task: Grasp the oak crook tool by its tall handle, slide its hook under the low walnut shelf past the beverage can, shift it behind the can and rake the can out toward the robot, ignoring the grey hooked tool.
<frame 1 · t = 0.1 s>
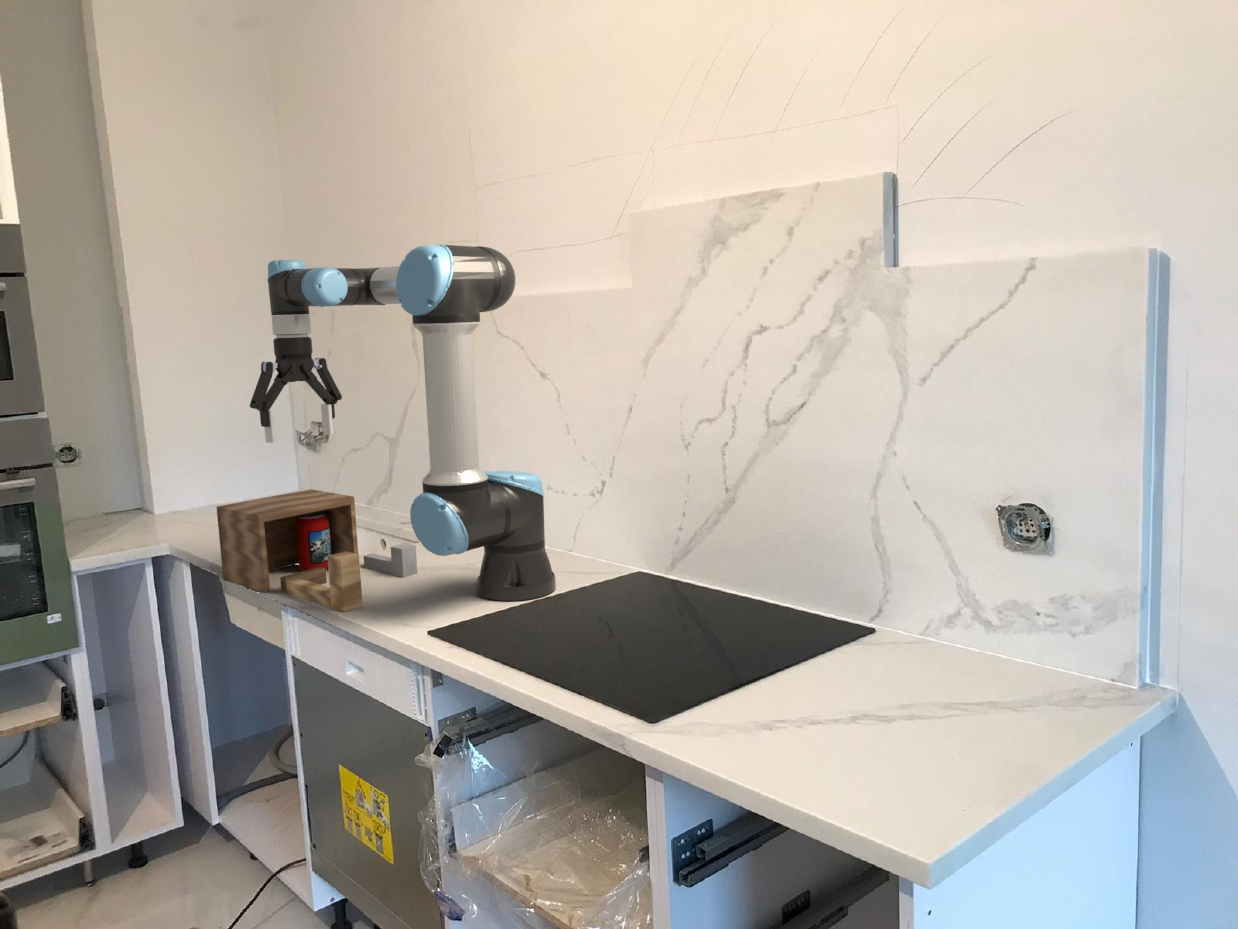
hand: (300, 438, 209), 28 cm above the worktop, fingers open, 13 cm apart
shelf: (292, 574, 209), on the worktop
grey hooked tool: (389, 570, 210), on the worktop
crook tool: (347, 607, 184), on the worktop
beverage can: (316, 570, 212), on the worktop
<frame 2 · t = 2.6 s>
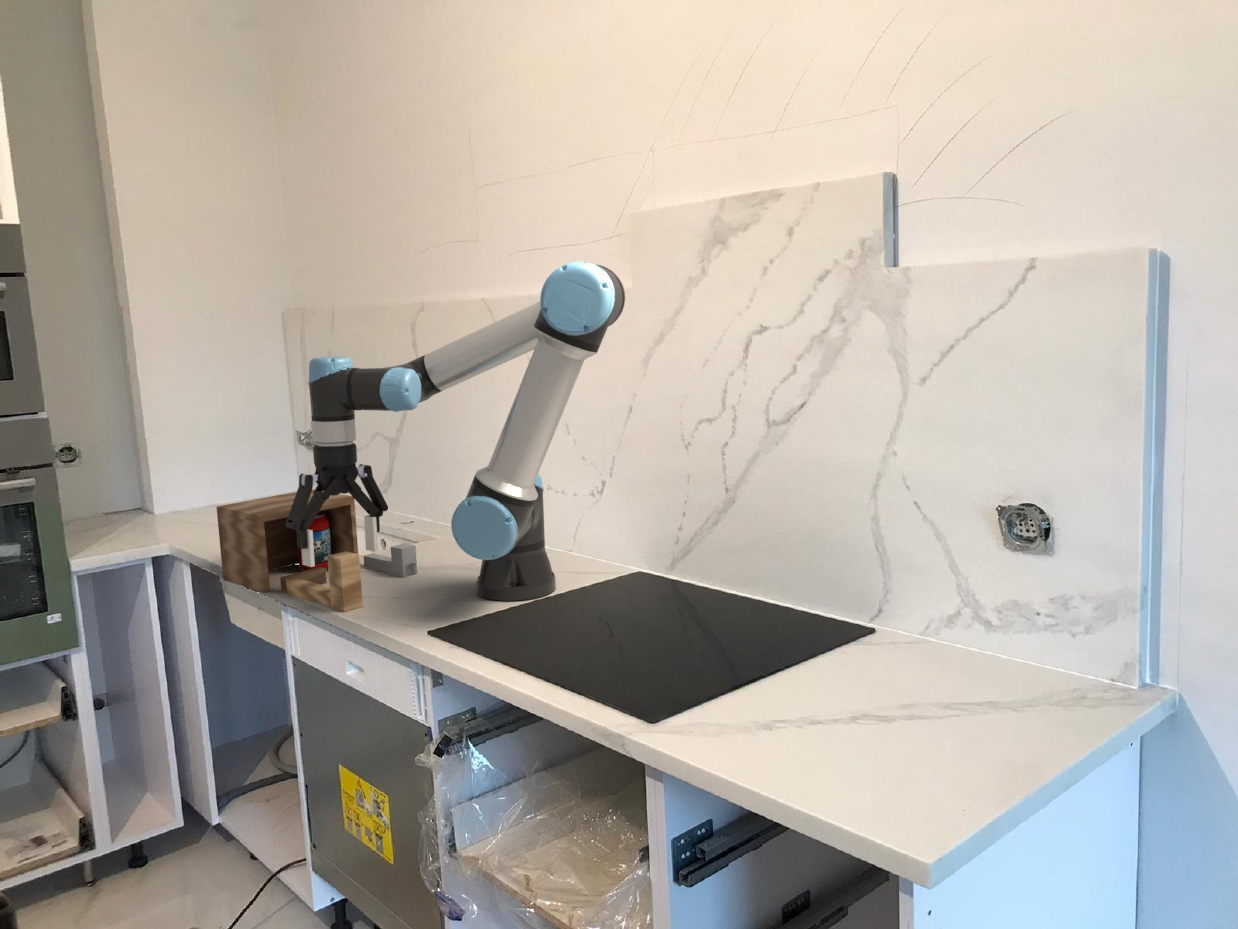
hand: (341, 558, 183), 9 cm above the worktop, fingers open, 13 cm apart
nothing on the worktop moved.
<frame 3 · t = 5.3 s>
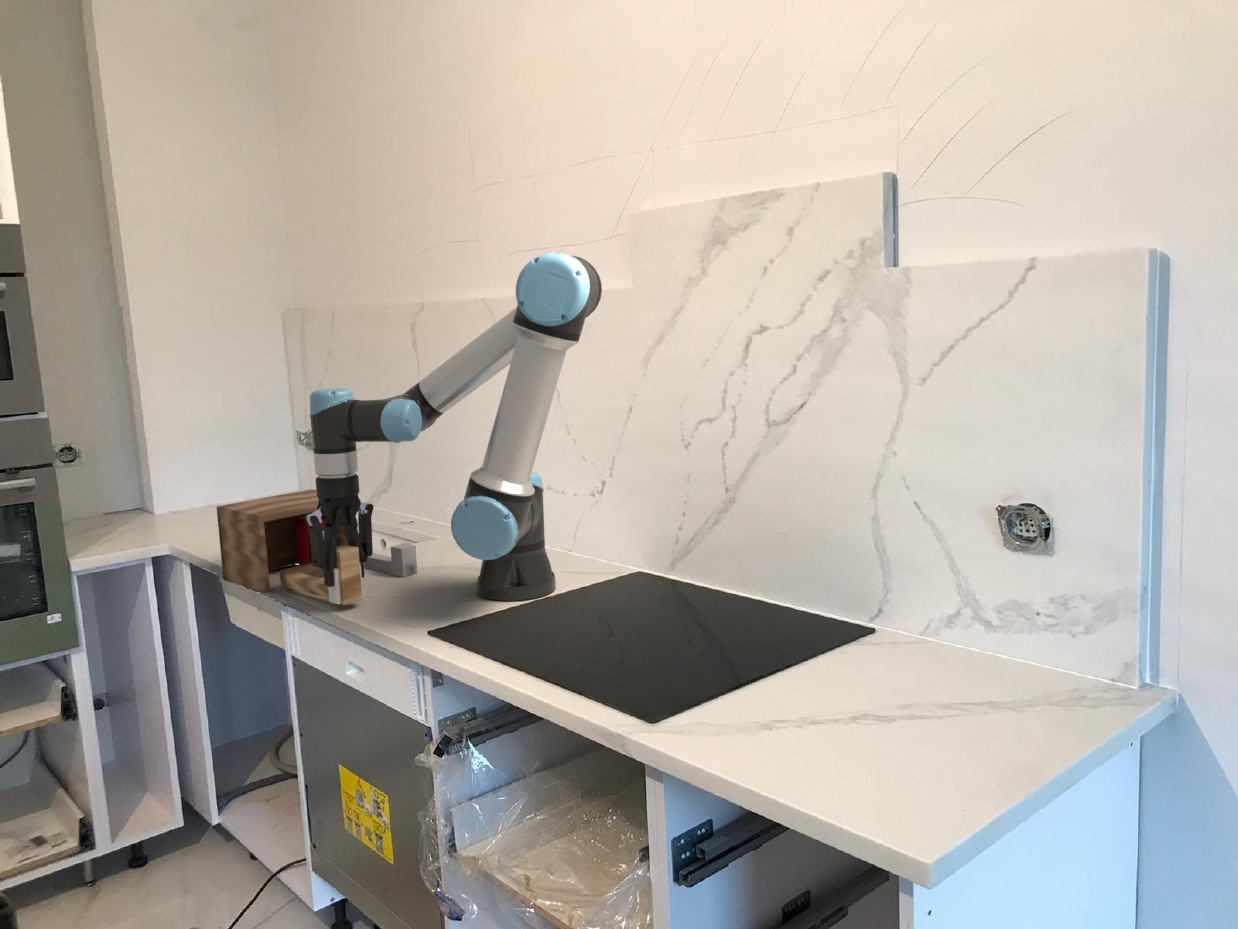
hand: (346, 599, 184), 2 cm above the worktop, fingers closed on crook tool, 4 cm apart
crook tool: (346, 601, 184), point 1 cm above the worktop, touching gripper
everything else where it was.
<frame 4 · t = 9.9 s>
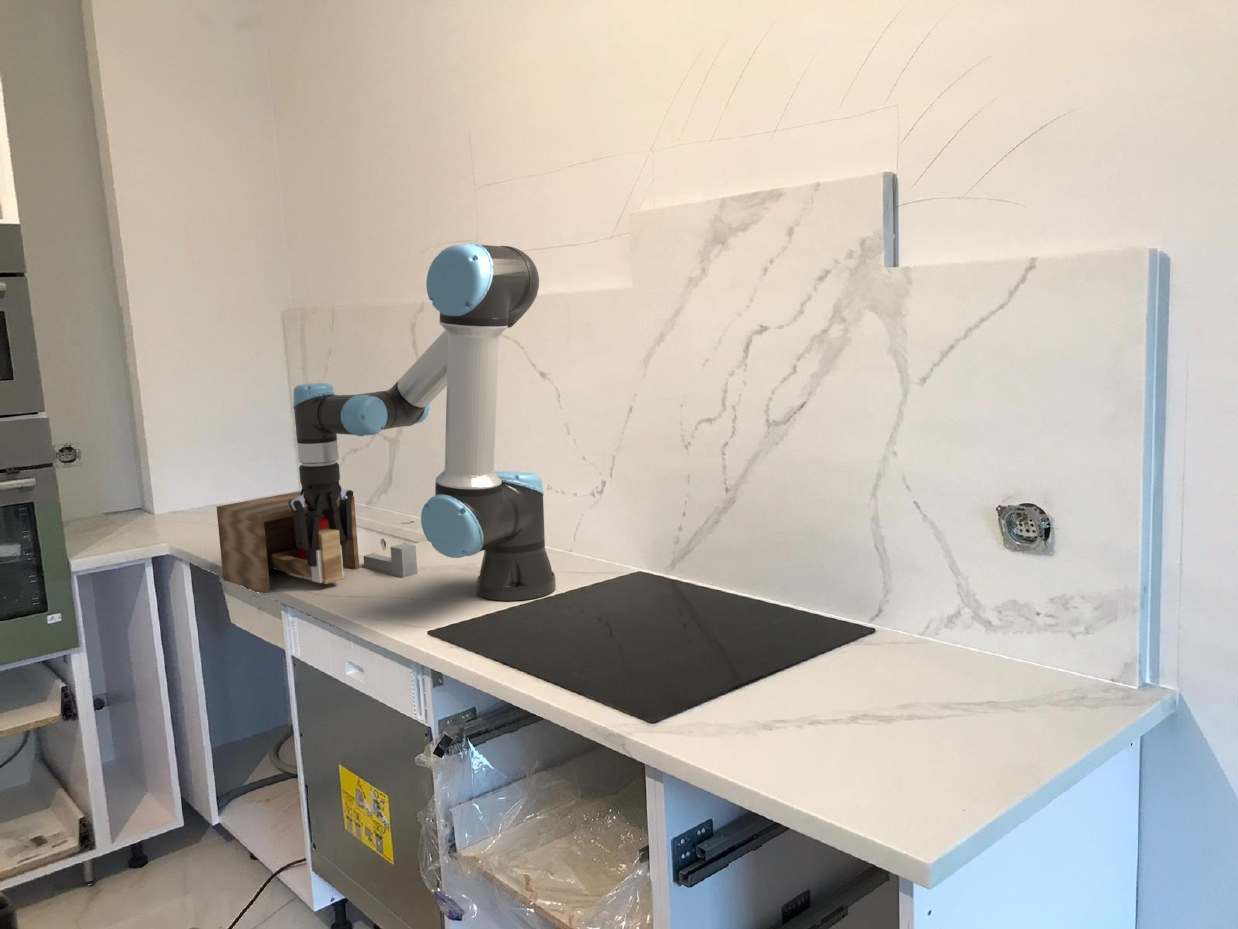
hand: (328, 578, 199), 2 cm above the worktop, fingers closed on crook tool, 4 cm apart
crook tool: (328, 580, 199), point 1 cm above the worktop, touching gripper
everything else where it was.
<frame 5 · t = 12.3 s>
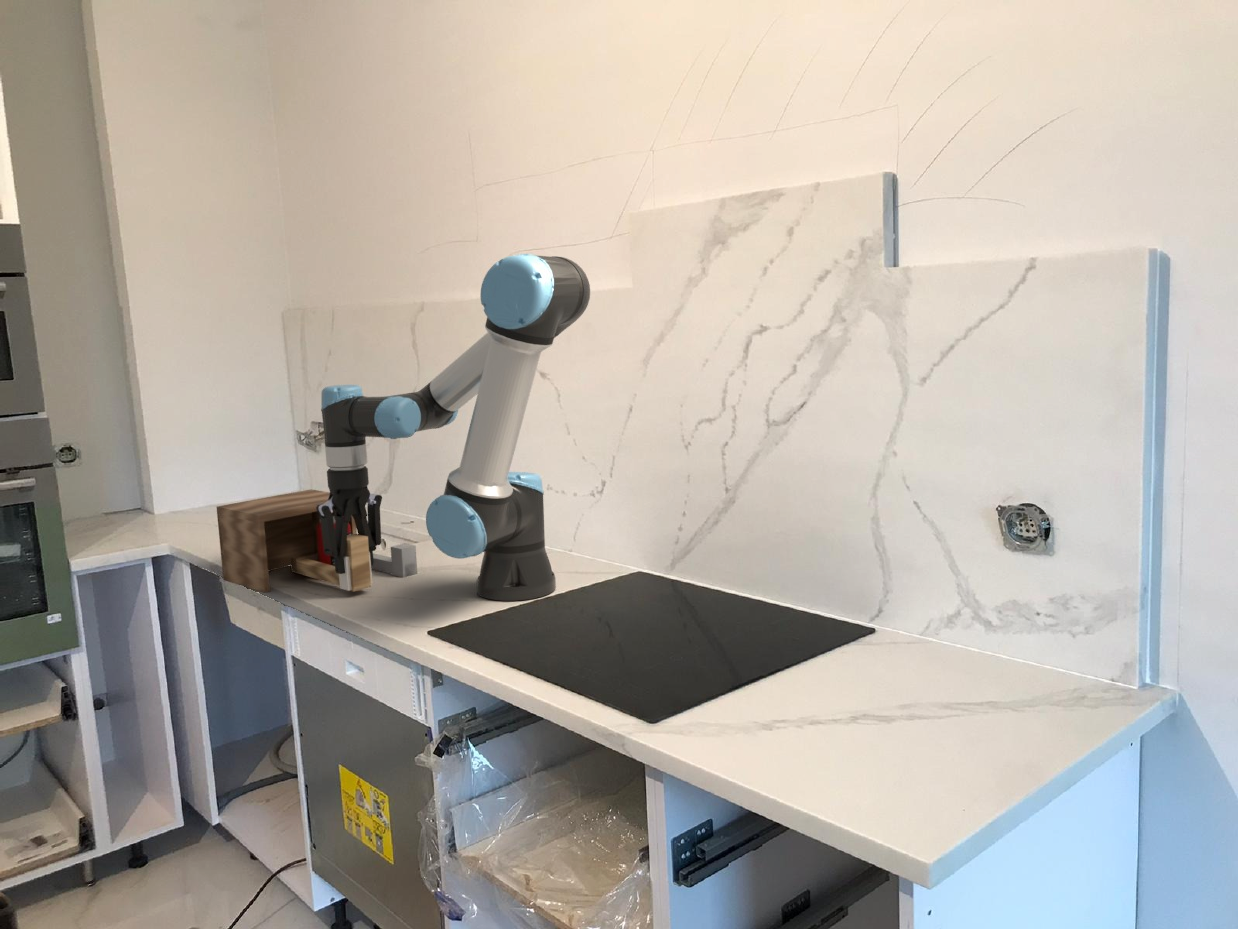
hand: (356, 585, 193), 2 cm above the worktop, fingers closed on crook tool, 4 cm apart
crook tool: (356, 587, 193), point 1 cm above the worktop, touching beverage can, gripper
beverage can: (337, 576, 207), on the worktop, touching crook tool
everything else where it was.
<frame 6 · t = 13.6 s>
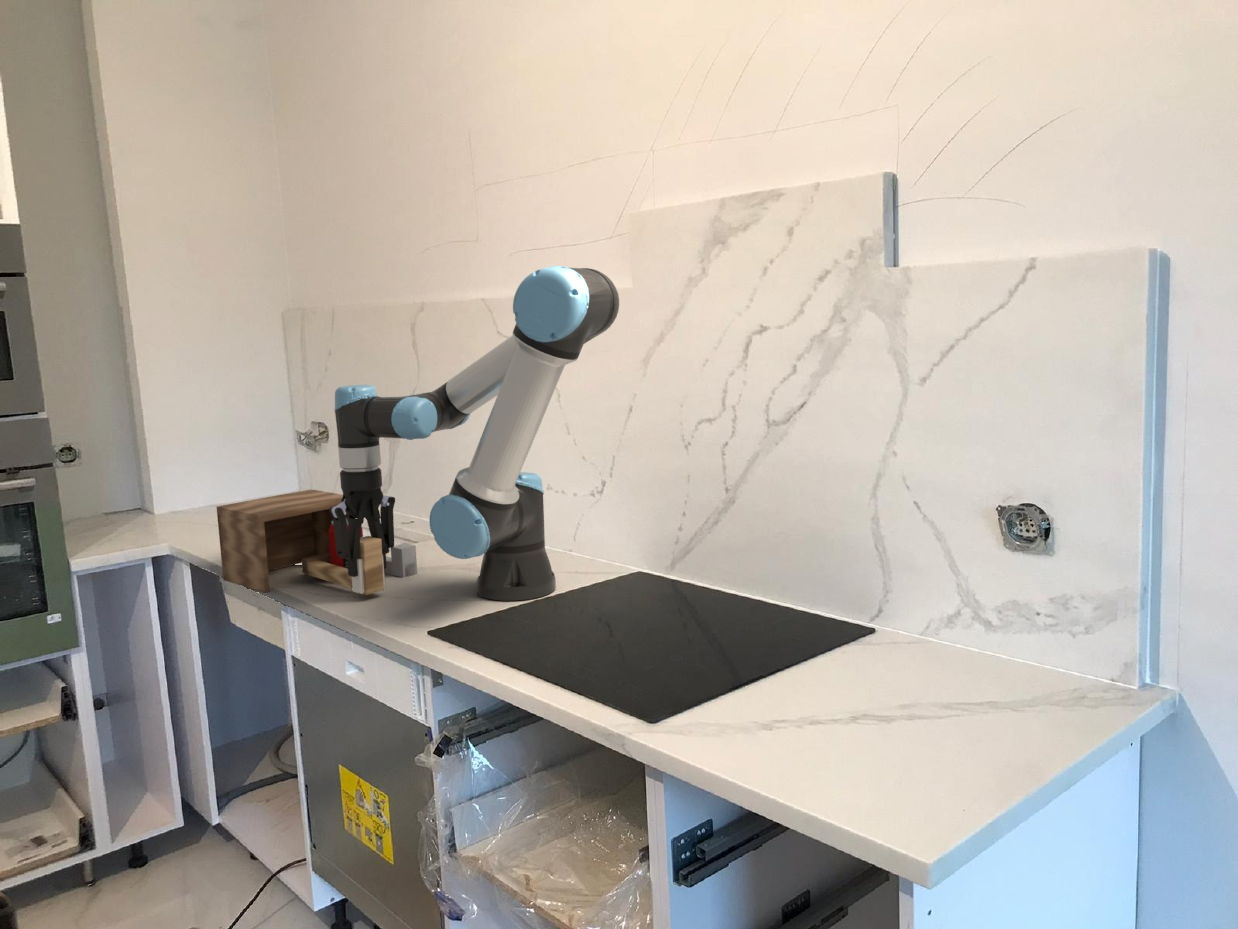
hand: (368, 588, 190), 2 cm above the worktop, fingers closed on crook tool, 4 cm apart
crook tool: (368, 590, 190), point 1 cm above the worktop, touching beverage can, gripper
beverage can: (349, 579, 204), on the worktop, touching crook tool
everything else where it was.
when the fingers open (2 cm above the worktop, at t = 14.5 s): crook tool drops 1 cm, on the worktop.
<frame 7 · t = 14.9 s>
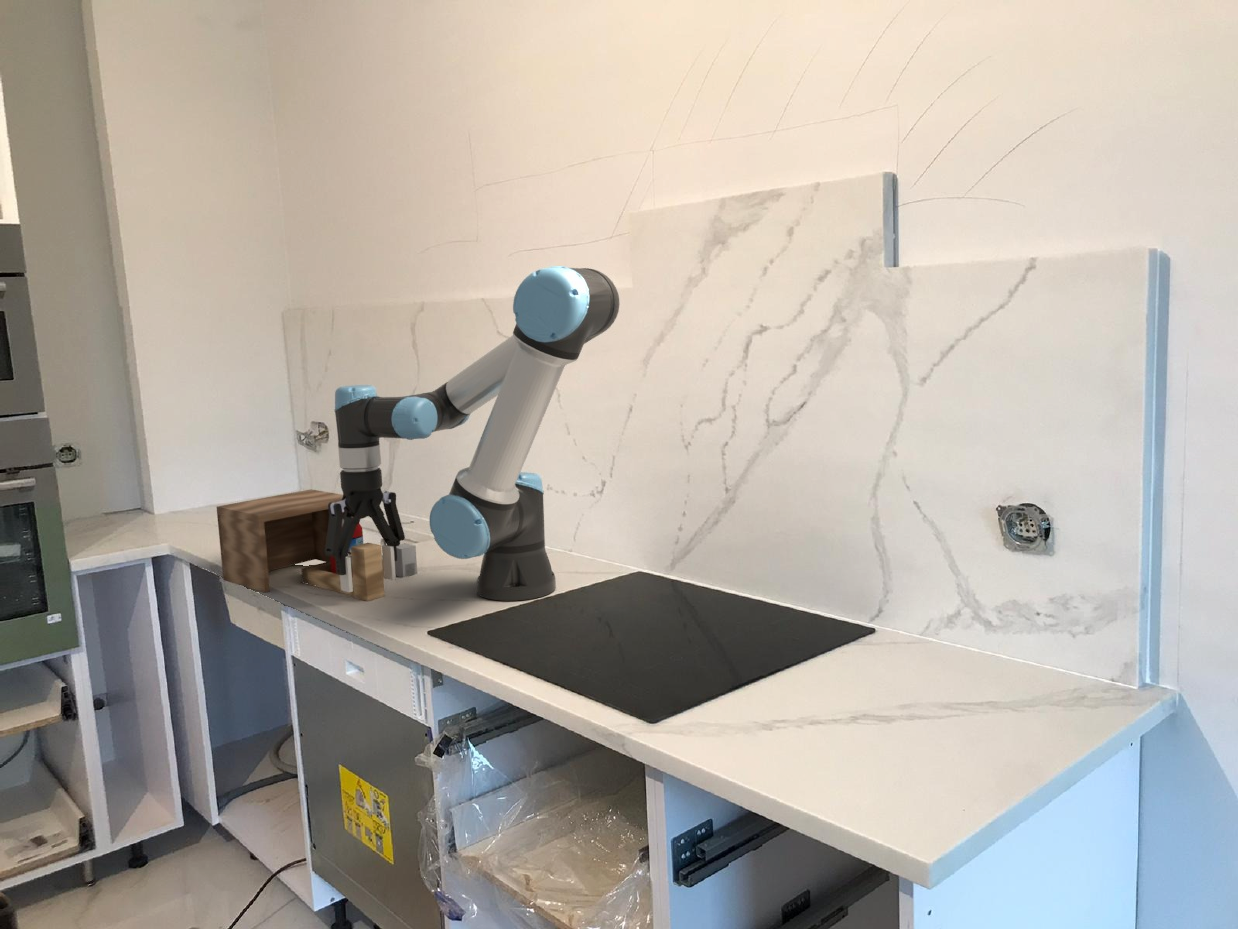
hand: (368, 584, 190), 3 cm above the worktop, fingers open, 9 cm apart
crook tool: (369, 597, 191), on the worktop
beverage can: (349, 579, 204), on the worktop
everything else where it was.
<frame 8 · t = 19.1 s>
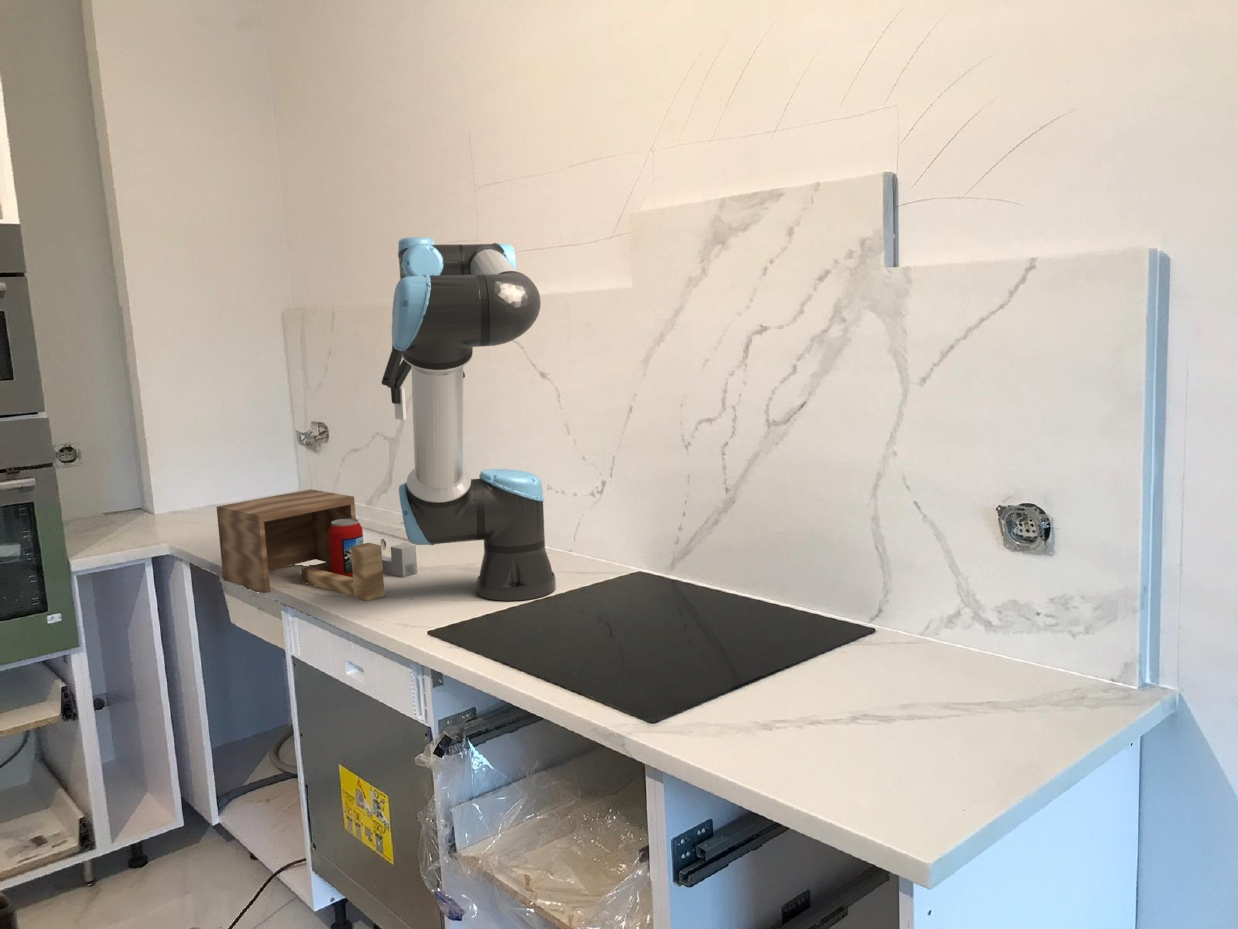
hand: (426, 416, 210), 32 cm above the worktop, fingers open, 13 cm apart
nothing on the worktop moved.
at the end: beverage can inside the target area (1.3 cm from its centre), on the worktop; beverage can tilted 0°; the gripper is holding nothing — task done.
